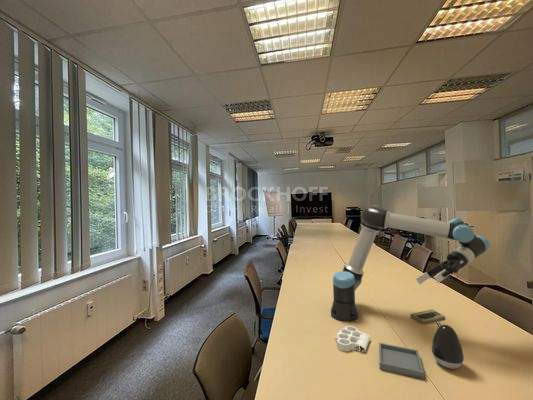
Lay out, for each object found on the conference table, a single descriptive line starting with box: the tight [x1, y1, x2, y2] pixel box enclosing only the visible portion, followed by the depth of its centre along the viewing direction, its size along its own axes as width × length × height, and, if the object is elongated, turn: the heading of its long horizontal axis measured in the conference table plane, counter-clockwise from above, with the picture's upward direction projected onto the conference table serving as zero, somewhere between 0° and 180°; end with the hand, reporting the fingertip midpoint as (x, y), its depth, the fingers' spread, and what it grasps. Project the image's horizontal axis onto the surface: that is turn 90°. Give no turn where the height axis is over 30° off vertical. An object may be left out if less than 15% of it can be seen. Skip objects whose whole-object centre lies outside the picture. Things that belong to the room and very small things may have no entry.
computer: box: [409, 308, 446, 325], centre depth 134 cm, size 16×8×3 cm, turn 108°
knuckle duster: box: [333, 325, 371, 353], centre depth 113 cm, size 3×18×15 cm
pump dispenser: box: [431, 321, 465, 370], centre depth 97 cm, size 10×10×15 cm
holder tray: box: [378, 342, 425, 380], centre depth 98 cm, size 15×15×2 cm
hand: (426, 280), depth 113 cm, fingers open, 13 cm apart
